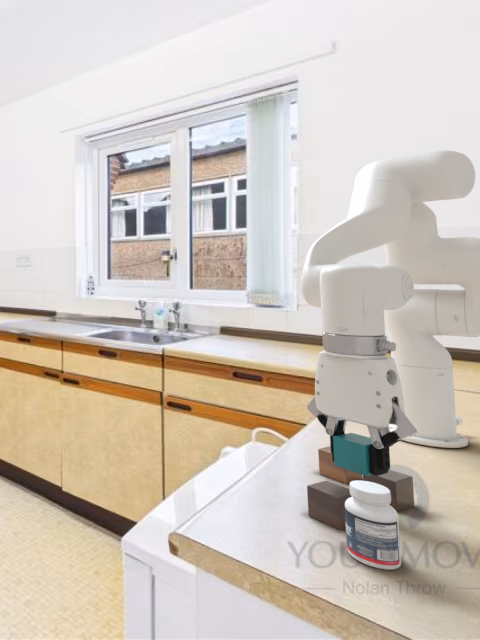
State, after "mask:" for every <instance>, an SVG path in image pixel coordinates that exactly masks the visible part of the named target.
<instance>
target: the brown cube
mask: <svg viewBox="0 0 480 640" xmlns="http://www.w3.org/2000/svg"><path fill="white" fill-rule="evenodd" d="M306 490H307V491H306V492H307V494H306V495H307V511H308V512H307V513H308V517H310V518H313V519H315V520H317V521H320V522H322V523H324V524H326V525H328V526H331V527H333V528H335V529H338V530H339V531H342V530H346V519H345V501H346V500H347V499H348V498H350V497H352V496H351V495H350V488H348V487H346V486H343V485H340V484H337V483H334V482H332V481H329V480H322V481H319V482H315V483H312V484H308V485H306Z"/></svg>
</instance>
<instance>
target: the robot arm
mask: <svg viewBox="0 0 480 640" xmlns="http://www.w3.org/2000/svg"><path fill="white" fill-rule="evenodd" d="M475 183H476V169H475V167H474V163H473V162H472V160H471V158H469V157H468V156H467V155H466V154H464V153H462V152H459V151H454V150H433V151H427V152H420V153H413V154H408V155H400V156H393V157H389V158H387V157H386V158H383V159H378V160H375V161H372V162H370V163H368V164H366V165H365V166H363V167H362V168H361V169H360V171H359V172H358V173H357V175H356V176H355V179H354V186H353V191H352V195H351V200H350V205H349V209H348V213H347V218H345V219H344V220H341V221H340V222H338V223H337V224H335V225H334V226H332V227H330V229H328V230H327V231H326V232H324V233H323V234H322V235H321V236H320V237H319V238H317V239H316V240H315V242H313V243H312V245H311V247H310V248H309V250H308V252H307V255H306V258H305V262H304V265H303V269H302V273H301V279H300V292H301V295H302V297H303V299H304V301H305V302H306V303H307V304H308V305H310V306H312V307H314V308H319V309H320V312H321V331H322V332H321V335H322V351H319V352H318V357H317V361H316V368H315V380H314V397H313V398H312V399H311V400H310V402H309V403H308V404H307V405H306V409H307V411H308V412H310V414H312V416H313V417H314V418H317V421H318V422H319V423H320V425H322V427H323V428H324V429H325V434H327V435H328V436H329V444H330V447H331V453H332V460H333V462H334V443H333V436H338V435H343V434H346V432H345V431H346V426H347V422H352V423H355V424H360V425H364V426H367V429H368V430H367V431H368V434H369V438H371V440H372V444H373V446H372V447H369V461H370V473H371V474H372V475H375V476H378V475H382V474H386V473H388V470H391V454H390V453H391V452H390V447H391V448H392V447H393V446H394V445H395V444H397V443H398V442H400V441H404V442H406V443H413V444H416V445H422V446H427V447H434V448H445V449H458V448H465V447H467V446H468V445H469V439H468V438H467V437H466V436H464V435H463V434H461V433H458V430H457V426H458V427H459V426H461V425H462V424H463V422H464V421H463V419H462V418H461V417H460V416H457V414H456V400H455V399H456V398H455V384H454V383H455V382H454V367H453V359H452V356H451V354H450V352H449V351H448V350H447V348H446V347H445V346H444V345H443V344H441V342H439V341H438V340H437V339H436V338H435V337H434V336H450V337H464V338H465V337H466V338H480V237H475V236H460V237H459V236H458V237H440V235H439V231H438V223H437V216H436V214H435V212H434V210H432V209H431V208H430V207H429V206H428V205H427V204H426V203H427V202H435V201H448V200H450V201H451V200H458V199H464V198H465V197H467V196H468V195H470V194H471V192H472V190H473V189H474V186H475ZM381 246H384V247H383V248H384V255H385V262H386V263H340V262H341V261H343V260H345V259H347V258H350V257H352V256H354V255H355V256H356V255H358V254H361V253H364V252H367V251H370V250H373V249H376V248H379V247H381ZM415 285H443V286H444V285H447V286H448V285H451V286H452V285H454V286H455V285H456V286H459V287H461V288H463V289H439V288H415ZM386 328H387V332H388V337H387V336H386ZM388 338H389V340H388ZM389 352H390V356H387V355H388V353H389Z"/></svg>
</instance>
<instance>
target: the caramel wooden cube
mask: <svg viewBox="0 0 480 640" xmlns="http://www.w3.org/2000/svg"><path fill="white" fill-rule="evenodd" d="M317 452H318V453H317V455H318V472H319V475H322V476H324V477H327V478H330V479H333V480H336V481H339V482H340V483H344V484H350V482H351V481H356V480H360V481H362V480H363V475H362V474H359V473H356V472H353V471H350V470H347V469H344V468H341V467H338V466H335V463H334V462H333V460H332V453H331V447H330V446H325V447H320V448H318V449H317Z"/></svg>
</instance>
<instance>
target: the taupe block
mask: <svg viewBox="0 0 480 640" xmlns="http://www.w3.org/2000/svg"><path fill="white" fill-rule="evenodd" d="M362 477H363V479H362V481H369V482H373V483H377V484H380V485H382V486H385V487H386V488H388V489H389V490H390V493H391V503H390V504H389V505H390V506H392V507H393V508H394V509H395V510H396V512H400V511H403V510H406V509H409V508H412V507H415V493H414V476H411V475H408V474H405V473H401V472H398V471H395V470H392V469H389V470H388V473H386V474H382V475H378V476H375V475H369V476H365V475H362Z"/></svg>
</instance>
